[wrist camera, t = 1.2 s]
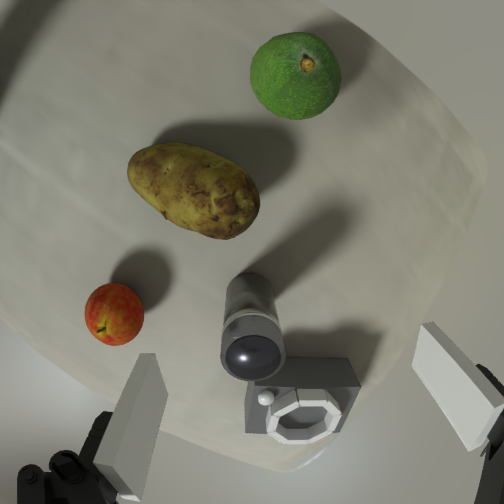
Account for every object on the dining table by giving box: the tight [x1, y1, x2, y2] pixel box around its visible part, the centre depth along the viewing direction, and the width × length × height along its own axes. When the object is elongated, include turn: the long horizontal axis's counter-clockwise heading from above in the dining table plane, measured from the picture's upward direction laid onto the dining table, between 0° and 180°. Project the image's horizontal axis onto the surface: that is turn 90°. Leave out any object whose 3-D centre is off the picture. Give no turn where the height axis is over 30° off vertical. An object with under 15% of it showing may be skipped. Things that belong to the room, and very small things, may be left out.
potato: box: [127, 142, 260, 240], centre depth 27 cm, size 8×13×8 cm, turn 48°
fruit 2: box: [250, 32, 341, 120], centre depth 22 cm, size 8×8×12 cm
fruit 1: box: [85, 283, 144, 346], centre depth 31 cm, size 7×7×8 cm
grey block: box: [245, 357, 361, 444], centre depth 35 cm, size 13×9×8 cm
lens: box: [220, 273, 286, 381], centre depth 29 cm, size 5×5×12 cm
